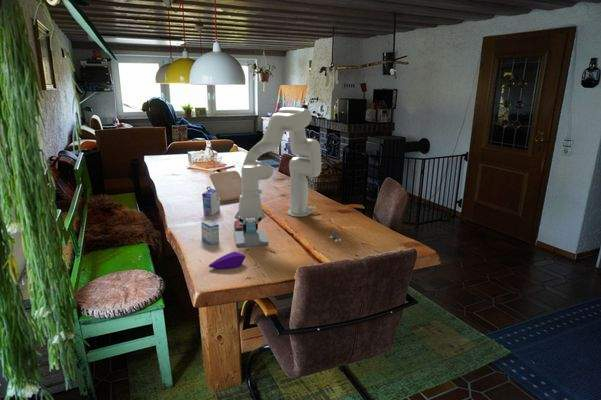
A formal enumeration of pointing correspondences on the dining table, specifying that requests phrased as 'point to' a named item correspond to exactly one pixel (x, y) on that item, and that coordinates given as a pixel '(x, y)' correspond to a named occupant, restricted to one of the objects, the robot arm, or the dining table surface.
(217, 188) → the case
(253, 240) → the block
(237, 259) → the purple tapered spindle
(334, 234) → the car cutout
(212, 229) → the medicine box
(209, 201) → the ink cartridge box
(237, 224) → the walkie-talkie
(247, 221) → the block
